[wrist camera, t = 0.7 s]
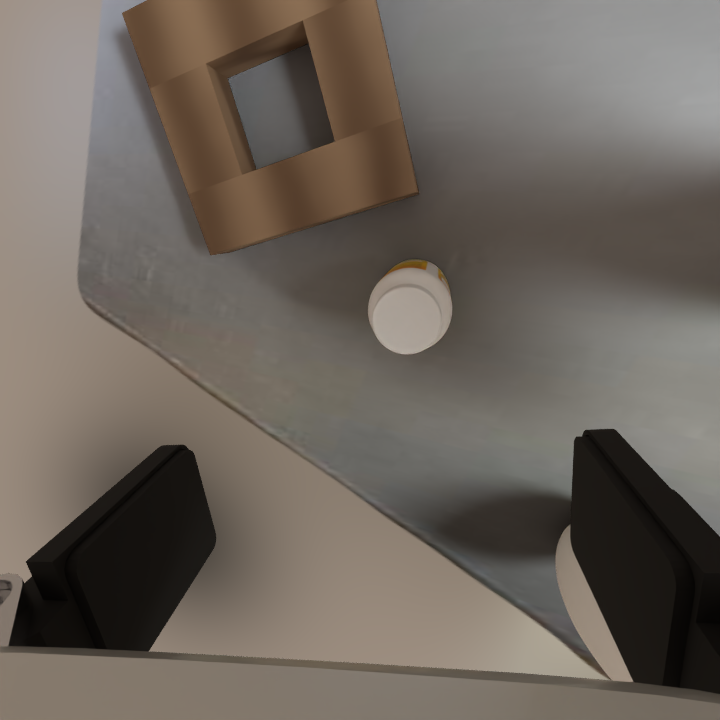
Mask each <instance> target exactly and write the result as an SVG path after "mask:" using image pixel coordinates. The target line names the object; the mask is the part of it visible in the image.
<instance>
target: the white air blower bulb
mask: <svg viewBox="0 0 720 720" xmlns="http://www.w3.org/2000/svg"><path fill="white" fill-rule="evenodd" d="M555 564H556V574H557V580H558V585H559V589H560V592H561V595H562V598H563V600H564V603H565V606H566V608H567V611H568V613H569V615H570V617H571V620H572V622H573V624H574V626H575V628H576V629H577V631H578V633H579V635H580V636H581V638H582V640H583V641H584V643H585V644H586V646H587V647H588V649H589V650H590V652H591V653H592V655H593V656H594V658H595V659H596V660H597V662H598V663H599V665H600V666H601V667H602V668H603V670H604V671H605V672H606V674H607V675H608V676H609V677H610V678H611V679H612V681H624V682H633V680H632V678H631V676H630V674H629V671H628V669H627V667H626V665H625V663H624V661H623V658H622V656H621V654H620V652H619V650H618V648H617V645H616V643H615V641H614V639H613V637H612V635H611V633H610V630H609V628H608V626H607V624H606V622H605V620H604V617H603V615H602V613H601V611H600V609H599V607H598V604H597V602H596V600H595V598H594V596H593V594H592V591H591V589H590V587H589V585H588V583H587V581H586V579H585V576H584V574H583V572H582V570H581V568H580V566H579V563H578V561H577V559H576V557H575V555H574V552H573V550H572V546H571V541H570V525H569V526H567V528H566V529H565V530H564V531H563V533H562V535H561V537H560V539H559V541H558V545H557V550H556V557H555Z"/></svg>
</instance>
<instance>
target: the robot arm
mask: <svg viewBox="0 0 720 720" xmlns="http://www.w3.org/2000/svg"><path fill="white" fill-rule="evenodd" d="M570 541H571V546H572V550H573V552H574V555H575V557H576V559H577V561H578V563H579V566H580V568H581V570H582V572H583V574H584V576H585V579H586V581H587V583H588V585H589V587H590V589H591V591H592V594H593V596H594V598H595V600H596V602H597V604H598V607H599V609H600V611H601V613H602V615H603V617H604V620H605V622H606V624H607V626H608V628H609V630H610V633H611V635H612V637H613V639H614V641H615V643H616V645H617V648H618V650H619V652H620V654H621V656H622V658H623V661H624V663H625V665H626V667H627V669H628V671H629V674H630V676H631V678H632V680H633V682H624V681H611V680H599V679H587V678H574V677H562V676H549V675H537V674H525V673H524V674H523V673H509V672H493V671H477V670H461V669H446V668H445V669H444V668H430V667H414V666H398V665H382V664H381V665H380V664H365V663H349V662H331V661H314V660H297V659H280V658H262V657H261V658H260V657H244V656H243V657H242V656H226V655H206V654H188V653H187V654H186V653H167V652H148V651H149V650H150V648H151V647H152V645H153V644H154V642H155V640H156V639H157V637H158V636H159V634H160V632H161V631H162V629H163V628H164V626H165V625H166V623H167V622H168V620H169V618H170V617H171V615H172V614H173V612H174V611H175V609H176V607H177V606H178V604H179V603H180V601H181V599H182V598H183V596H184V595H185V593H186V592H187V590H188V588H189V587H190V585H191V584H192V582H193V581H194V579H195V577H196V576H197V574H198V572H199V571H200V569H201V568H202V566H203V565H204V563H205V562H206V560H207V558H208V557H209V555H210V554H211V552H212V550H213V549H214V546H215V543H216V533H215V529H214V525H213V522H212V518H211V514H210V510H209V507H208V503H207V499H206V496H205V492H204V488H203V485H202V481H201V477H200V473H199V470H198V466H197V462H196V459H195V455H194V453H193V452H192V451H191V450H189V449H188V448H187V447H186V446H185V445H164V446H161V447H159V448H158V449H157V450H155V451H154V452H153V453H152V454H151V455H150V456H148V457H147V458H146V459H145V460H144V461H142V462H141V463H140V464H139V465H138V466H137V467H135V468H134V469H133V470H132V471H131V472H130V473H128V474H127V475H126V476H125V477H124V478H123V479H121V480H120V481H119V482H118V483H117V484H116V485H114V486H113V487H112V488H111V489H110V490H109V491H107V492H106V493H105V494H104V495H103V496H102V497H100V498H99V499H98V500H97V501H96V502H95V503H94V504H93V505H91V506H90V507H89V508H88V509H87V510H86V511H84V512H83V513H82V514H81V515H80V516H78V517H77V518H76V519H75V520H74V521H73V522H71V523H70V524H69V525H68V526H67V527H66V528H65V529H63V530H62V531H61V532H60V533H59V534H57V535H56V536H55V537H54V538H53V539H52V540H50V541H49V542H48V543H47V544H46V545H45V546H44V547H42V548H41V549H40V550H39V551H38V552H37V553H35V554H34V555H33V556H32V557H31V558H29V559H28V560H27V561H26V563H27V565H28V568H29V570H30V572H31V574H32V577H31V578H30V579H29V580H28V581H27V582H26V583H24V582H23V580H22V578H21V577H20V576H19V575H17V574H10V573H8V574H2V575H0V720H720V537H719V535H718V534H717V533H716V532H715V531H714V530H713V529H712V528H711V527H710V526H709V525H708V524H707V523H706V522H705V521H704V520H703V519H702V518H701V517H700V516H699V514H698V513H697V512H696V511H695V510H694V509H693V508H692V507H691V506H690V505H689V504H688V503H687V502H686V501H685V500H684V499H683V498H682V497H681V496H680V495H679V494H678V493H677V492H676V491H674V490H672V489H671V488H670V487H669V486H668V485H667V484H666V483H665V482H664V481H663V480H662V479H661V478H660V477H659V476H658V475H657V473H656V472H655V471H654V470H653V469H652V468H651V467H650V466H649V465H648V464H647V463H646V462H645V461H644V460H643V459H642V457H641V456H640V455H639V454H638V453H637V452H636V451H635V450H634V449H633V448H632V447H631V446H630V445H629V444H628V443H627V442H626V440H625V439H624V438H623V437H622V436H621V435H620V434H619V433H618V432H617V431H616V430H614V429H597V430H585V431H584V432H583V435H582V437H576V438H575V440H574V456H573V479H572V501H571V524H570Z"/></svg>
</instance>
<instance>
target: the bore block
mask: <svg viewBox="0 0 720 720" xmlns="http://www.w3.org/2000/svg"><path fill="white" fill-rule="evenodd" d="M122 15H123V17H124V20H125V23H126V26H127V28H128V31H129V34H130V37H131V39H132V42H133V45H134V47H135V50H136V53H137V56H138V58H139V61H140V64H141V67H142V69H143V72H144V75H145V77H146V80H147V83H148V86H149V88H150V91H151V94H152V97H153V99H154V102H155V105H156V108H157V110H158V113H159V116H160V118H161V121H162V124H163V127H164V129H165V132H166V135H167V138H168V140H169V143H170V146H171V149H172V151H173V154H174V157H175V159H176V162H177V165H178V168H179V170H180V173H181V176H182V179H183V181H184V184H185V187H186V189H187V192H188V195H189V198H190V200H191V203H192V206H193V209H194V211H195V214H196V217H197V220H198V222H199V225H200V228H201V230H202V233H203V236H204V239H205V241H206V244H207V247H208V250H209V252H210V255H217V254H223V253H229V252H233V251H236V250H239V249H242V248H246V247H249V246H252V245H255V244H259V243H262V242H265V241H268V240H272V239H275V238H278V237H281V236H285V235H288V234H291V233H294V232H298V231H301V230H304V229H307V228H311V227H314V226H317V225H320V224H324V223H327V222H330V221H333V220H337V219H340V218H343V217H346V216H350V215H353V214H356V213H359V212H363V211H366V210H369V209H372V208H376V207H379V206H382V205H385V204H389V203H392V202H395V201H398V200H402V199H405V198H408V197H411V196H415V195H418V194H419V190H418V186H417V181H416V177H415V172H414V168H413V163H412V158H411V154H410V149H409V145H408V140H407V136H406V131H405V127H404V122H403V118H402V113H401V109H400V104H399V100H398V95H397V91H396V86H395V82H394V77H393V73H392V68H391V64H390V59H389V55H388V50H387V46H386V41H385V37H384V32H383V28H382V23H381V19H380V14H379V10H378V5H377V1H376V0H147V1H145V2H143V3H141V4H139V5H137V6H135V7H133V8H131V9H129V10H127V11H125V12H123V13H122ZM308 43H309V46H310V50H311V53H312V57H313V61H314V65H315V69H316V72H317V76H318V80H319V84H320V87H321V91H322V95H323V99H324V102H325V106H326V110H327V114H328V117H329V121H330V125H331V129H332V133H333V136H334V140H335V142H332V143H330V144H327V145H324V146H321V147H318V148H316V149H313V150H310V151H307V152H305V153H302V154H299V155H296V156H293V157H291V158H288V159H285V160H282V161H279V162H277V163H274V164H271V165H268V166H266V167H263V168H260V169H257V170H256V166H255V163H254V160H253V157H252V154H251V151H250V148H249V144H248V141H247V138H246V135H245V132H244V129H243V126H242V122H241V119H240V116H239V113H238V110H237V107H236V104H235V101H234V97H233V94H232V91H231V88H230V85H229V82H228V79H227V78H229V77H232V76H234V75H236V74H238V73H241V72H243V71H245V70H248V69H250V68H252V67H255V66H257V65H259V64H262V63H264V62H266V61H269V60H271V59H273V58H276V57H278V56H280V55H283V54H285V53H287V52H290V51H292V50H294V49H297V48H299V47H301V46H304V45H306V44H308Z"/></svg>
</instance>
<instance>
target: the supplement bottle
mask: <svg viewBox="0 0 720 720" xmlns="http://www.w3.org/2000/svg"><path fill="white" fill-rule="evenodd" d="M368 317H369V322H370V325H371V327H372V329H373V331H374V333H375V335H376V337H377V339H378V340H379V341H380V343H381V344H382V345H383V346H385V347H386V348H387V349H389V350H391V351H393V352H395V353H399V354H415V353H418V352H421V351H423V350H425V349H427V348H429V347H431V346H432V345H434V344H435V343H437V342H438V341H439V340H440V339H441V338H442V337H443V335H444V334H445V333H446V331H447V329H448V327H449V325H450V321H451V317H452V300H451V294H450V288H449V284H448V281H447V279H446V277H445V275H444V274H443V272H442V271H441V270H440V269H439V268H438V267H437V266H436V265H434V264H432V263H430V262H428V261H425V260H420V259H411V260H406V261H403V262H400V263H398V264H397V265H395V266H394V267H393V268H391V269H390V270H389V271H388V272H387V274H386V275H385V276H384V277H383V278H382V279H381V280H380V281H379V282H378V283H377V285H376V286H375V288H374V289H373V291H372V293H371V296H370V299H369V304H368Z"/></svg>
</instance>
